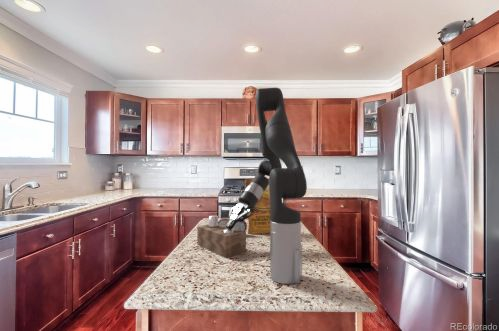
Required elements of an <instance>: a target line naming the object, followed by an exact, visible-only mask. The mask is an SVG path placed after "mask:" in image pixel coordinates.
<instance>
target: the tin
mask: <svg viewBox="0 0 499 331" xmlns="http://www.w3.org/2000/svg"><path fill="white" fill-rule="evenodd" d="M229 221H230V217H222V218H220V219H218V224H221V225H225V226H226V225H227V224H228V222H229ZM233 228H235V229H238V230H242V231H245V232H247V230H248V224H247V222H246V220H244V221H242V222H238V223H236V224H235V226H234V227H233Z"/></svg>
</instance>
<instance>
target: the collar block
mask: <svg viewBox="0 0 499 331" xmlns="http://www.w3.org/2000/svg"><path fill="white" fill-rule="evenodd" d="M224 229H228V228H227V227H226V226H225V225H221V224H218V227H217V228H209V224H205V225H204V224H203V225H198V226H197V231H196V233H197V239H196V240H197V242H196V243H197V246H199V247H201V248H203V249H206V250H208V251H209V252H212V253H214V254H216V255H218V256H220V257H222V258H225V259H226V258H230V257H233V256H236V255H240V254H243V253H247V231H242V230H238V229H235V228H232V229H233V230H234V232H232V233H224Z"/></svg>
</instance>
